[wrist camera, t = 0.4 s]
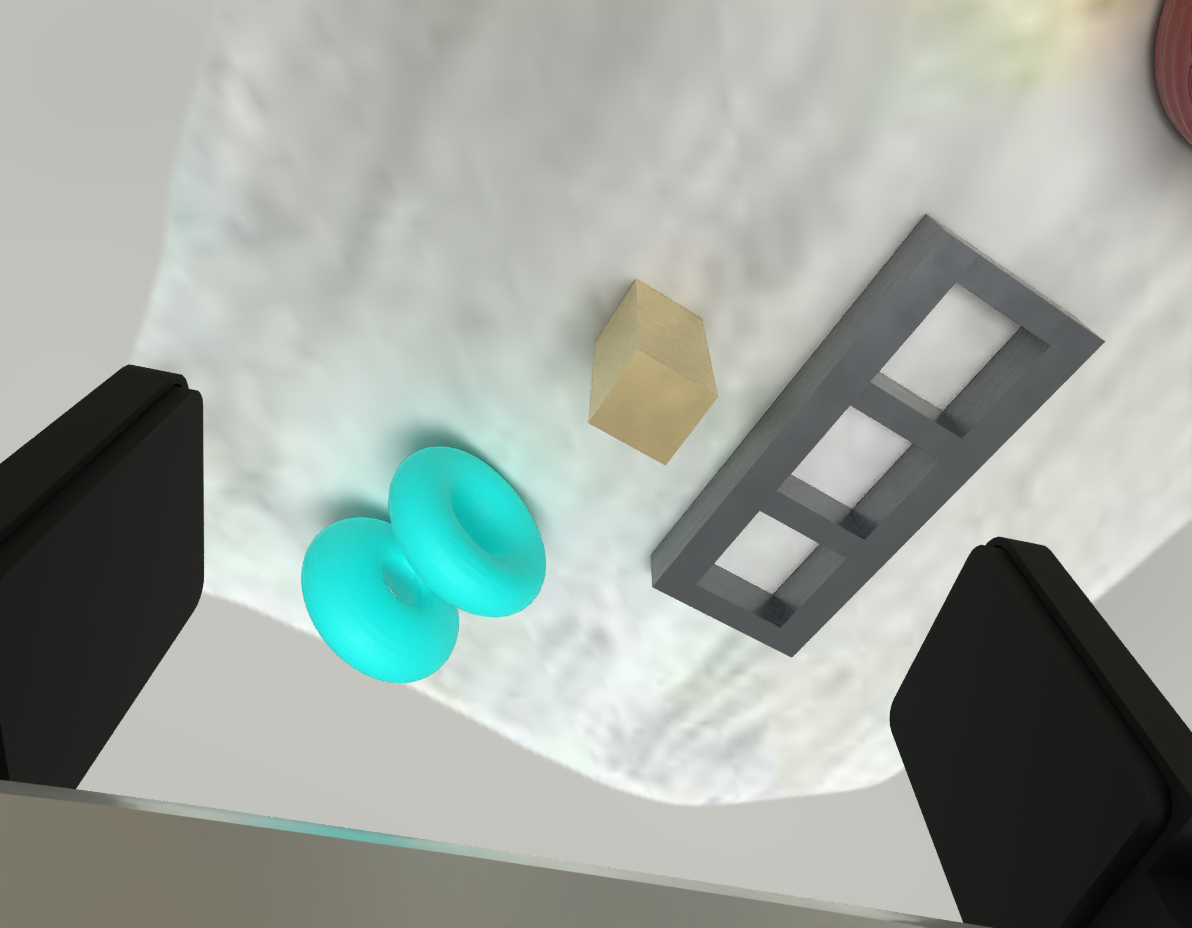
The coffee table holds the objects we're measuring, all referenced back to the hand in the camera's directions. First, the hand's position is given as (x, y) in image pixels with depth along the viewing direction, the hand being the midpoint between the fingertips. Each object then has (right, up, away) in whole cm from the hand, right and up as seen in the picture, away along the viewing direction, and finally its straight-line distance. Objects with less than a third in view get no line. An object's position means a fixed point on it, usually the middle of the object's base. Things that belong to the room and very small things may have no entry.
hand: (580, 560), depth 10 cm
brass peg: (+3, +8, +34) cm, 35 cm away
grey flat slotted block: (+14, +2, +37) cm, 40 cm away
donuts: (-9, -2, +41) cm, 42 cm away
